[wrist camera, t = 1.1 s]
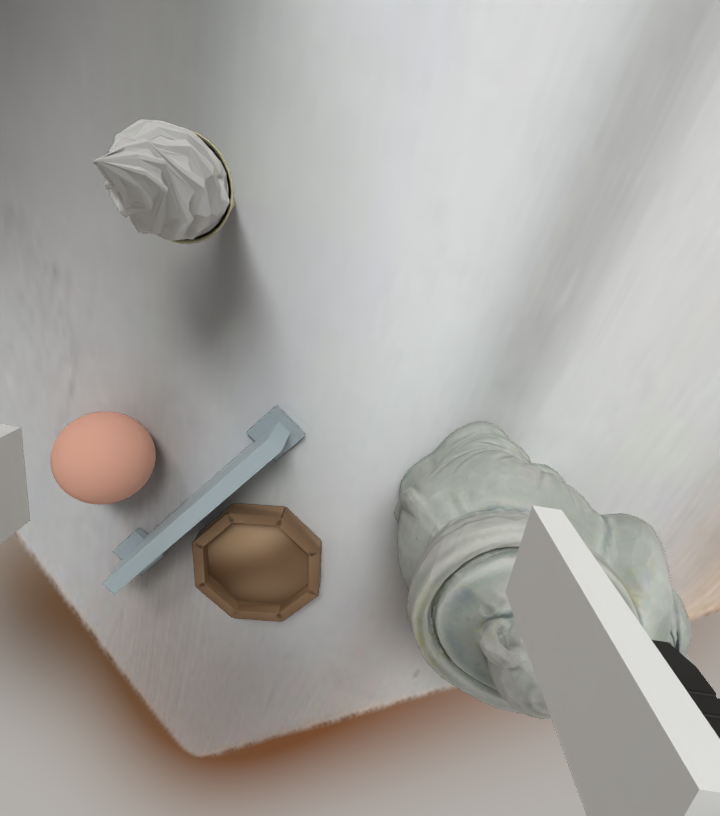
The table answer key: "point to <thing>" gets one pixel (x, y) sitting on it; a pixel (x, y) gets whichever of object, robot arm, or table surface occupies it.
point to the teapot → (507, 562)
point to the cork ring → (257, 562)
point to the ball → (103, 457)
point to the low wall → (205, 498)
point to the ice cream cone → (168, 181)
